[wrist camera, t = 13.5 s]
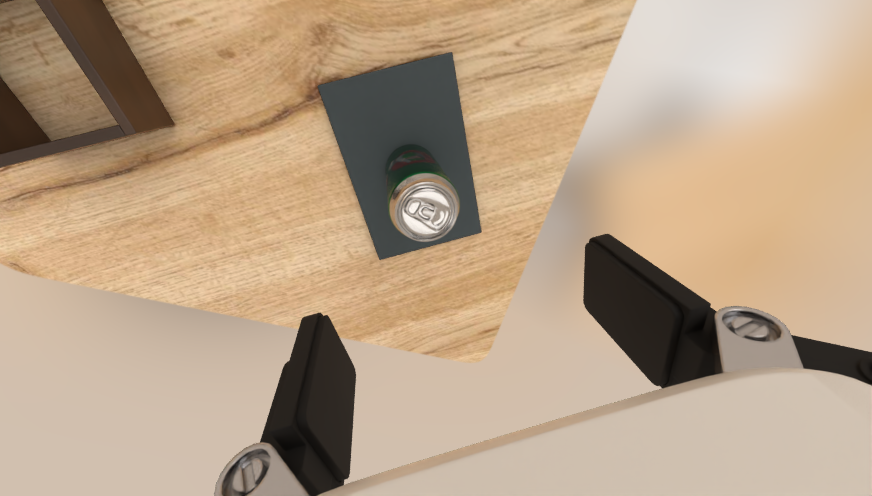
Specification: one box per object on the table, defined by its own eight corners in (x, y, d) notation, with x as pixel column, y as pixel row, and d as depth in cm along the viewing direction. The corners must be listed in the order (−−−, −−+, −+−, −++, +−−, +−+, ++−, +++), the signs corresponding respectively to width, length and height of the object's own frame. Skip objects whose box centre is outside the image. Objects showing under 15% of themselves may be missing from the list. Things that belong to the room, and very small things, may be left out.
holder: (-72, 3, 22) (-183, -16, 18) (83, -32, 22) (11, -59, 18) (51, 155, 27) (-12, 170, 23) (175, 124, 27) (137, 133, 23)
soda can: (421, 201, 34) (441, 256, 23) (377, 181, 32) (376, 230, 21) (444, 157, 32) (477, 195, 21) (398, 133, 30) (409, 162, 20)
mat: (318, 85, 28) (317, 85, 27) (450, 52, 28) (452, 52, 28) (379, 257, 37) (379, 260, 36) (480, 230, 37) (481, 232, 36)
